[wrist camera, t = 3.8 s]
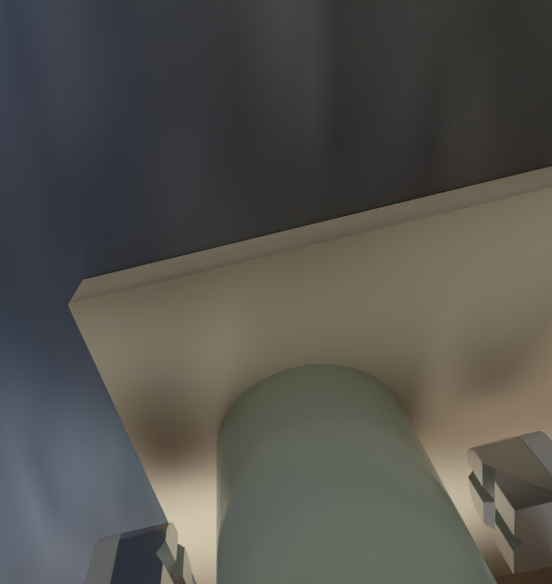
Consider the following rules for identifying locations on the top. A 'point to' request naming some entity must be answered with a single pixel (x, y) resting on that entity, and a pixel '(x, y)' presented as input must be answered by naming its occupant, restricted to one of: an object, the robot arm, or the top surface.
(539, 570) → the base block
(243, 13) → the top surface
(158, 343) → the board
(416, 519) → the canister
